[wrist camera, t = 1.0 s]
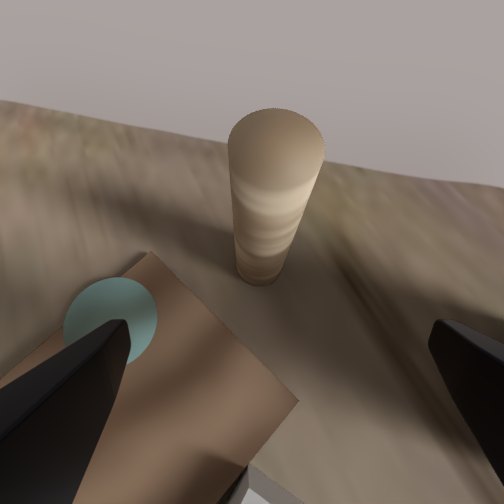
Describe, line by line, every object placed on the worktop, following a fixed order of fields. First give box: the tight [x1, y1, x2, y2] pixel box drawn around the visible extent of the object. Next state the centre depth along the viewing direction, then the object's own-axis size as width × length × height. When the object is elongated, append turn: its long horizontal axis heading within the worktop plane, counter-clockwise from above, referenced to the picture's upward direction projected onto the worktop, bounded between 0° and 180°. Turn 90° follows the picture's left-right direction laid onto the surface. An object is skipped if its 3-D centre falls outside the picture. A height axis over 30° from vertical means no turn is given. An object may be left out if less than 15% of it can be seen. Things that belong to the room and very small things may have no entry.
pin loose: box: [228, 108, 325, 286], centre depth 17 cm, size 3×3×13 cm
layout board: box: [0, 251, 299, 504], centre depth 18 cm, size 15×20×1 cm
